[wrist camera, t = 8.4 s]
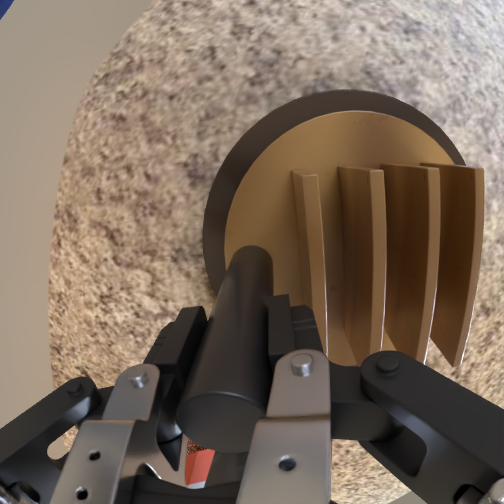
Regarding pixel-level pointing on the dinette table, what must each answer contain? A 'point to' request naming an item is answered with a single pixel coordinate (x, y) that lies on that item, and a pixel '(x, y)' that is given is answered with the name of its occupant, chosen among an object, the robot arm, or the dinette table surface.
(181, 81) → the dinette table surface
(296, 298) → the plate rack
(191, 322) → the robot arm
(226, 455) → the beverage cup
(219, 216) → the base
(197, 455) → the french fries container
